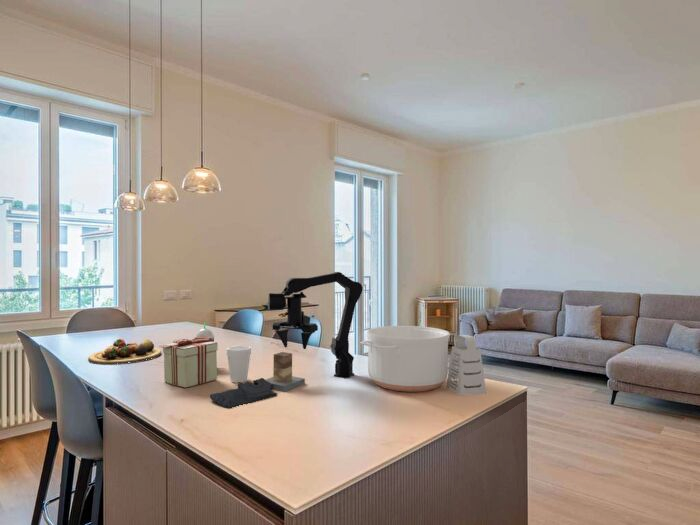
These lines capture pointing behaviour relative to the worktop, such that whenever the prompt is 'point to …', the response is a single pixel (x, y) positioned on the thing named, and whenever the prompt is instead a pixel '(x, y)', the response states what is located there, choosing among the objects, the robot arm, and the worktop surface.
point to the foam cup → (238, 362)
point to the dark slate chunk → (244, 393)
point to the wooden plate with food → (125, 353)
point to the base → (286, 383)
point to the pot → (407, 357)
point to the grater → (466, 367)
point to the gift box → (190, 361)
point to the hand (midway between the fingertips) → (295, 348)
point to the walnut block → (282, 360)
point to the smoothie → (205, 333)
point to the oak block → (282, 374)
